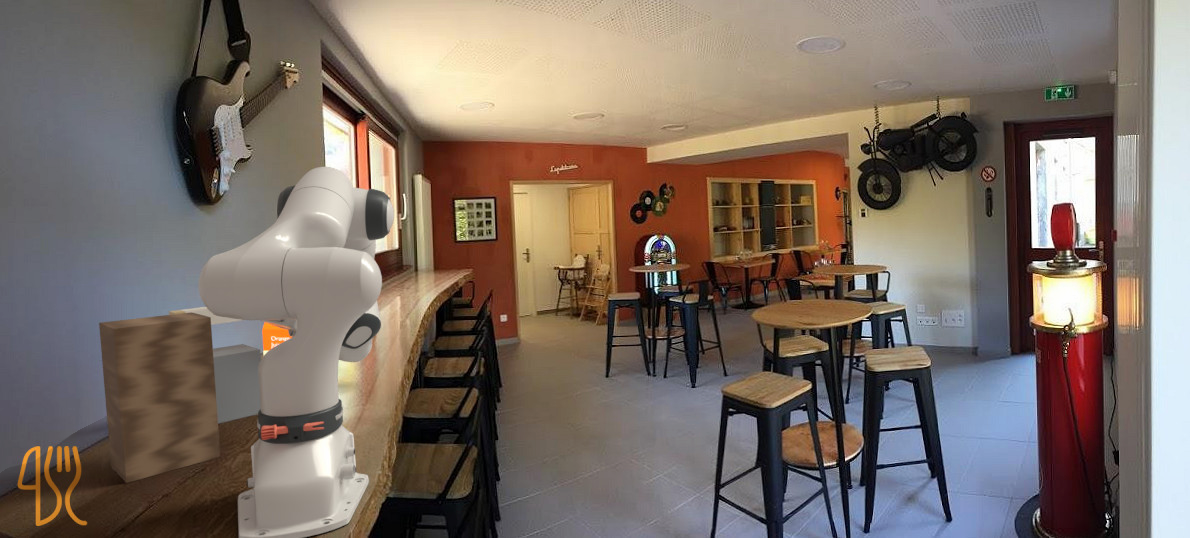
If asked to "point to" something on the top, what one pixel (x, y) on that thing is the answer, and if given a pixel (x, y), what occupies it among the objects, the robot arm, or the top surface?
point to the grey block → (236, 381)
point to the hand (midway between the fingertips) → (254, 307)
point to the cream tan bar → (207, 313)
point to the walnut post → (159, 393)
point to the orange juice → (273, 336)
